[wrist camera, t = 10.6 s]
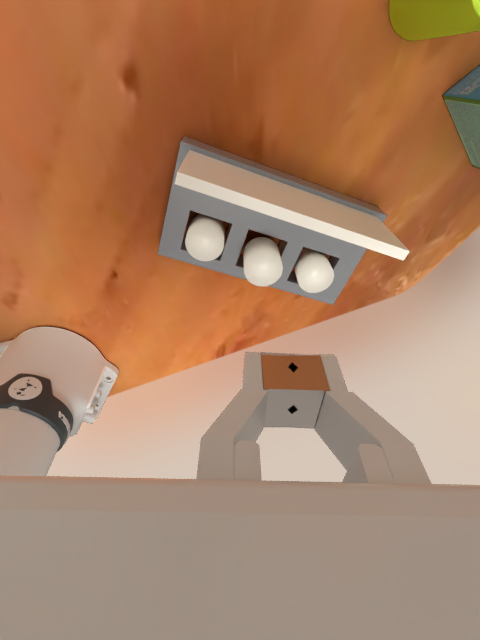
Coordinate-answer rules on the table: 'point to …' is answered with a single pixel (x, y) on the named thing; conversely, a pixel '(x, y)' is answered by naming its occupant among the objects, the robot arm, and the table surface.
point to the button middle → (262, 261)
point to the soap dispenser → (433, 18)
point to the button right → (313, 271)
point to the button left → (205, 238)
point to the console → (271, 217)
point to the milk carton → (467, 113)
